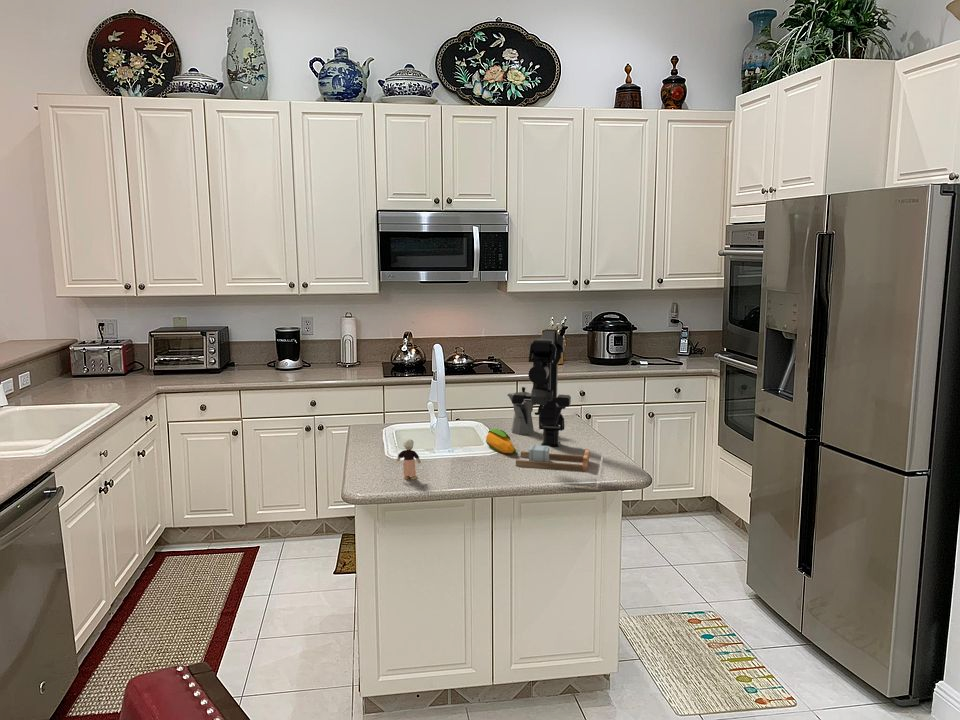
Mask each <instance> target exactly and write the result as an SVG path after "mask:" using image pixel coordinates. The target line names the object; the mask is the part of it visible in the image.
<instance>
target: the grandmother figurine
mask: <svg viewBox="0 0 960 720" xmlns="http://www.w3.org/2000/svg"><path fill="white" fill-rule="evenodd" d="M414 443H415V442H414V440H413V439H412V438H408V439H406V440H404V442H403V445H402V446H403V447H404V449H405V450H402V451H401V452H399V454H397V457H396V462H400V460H401V459H402V458H403V462H402V463H403V465H402V467H403V480H409V479H410V480H414V481H415V480H417V479H418V478H419V477H418V475H417V470H416V462H415V460H416V461H417V464H421V459H420V456H419V454H418V453H417V452H416V451H414V450H413V448H414Z"/></svg>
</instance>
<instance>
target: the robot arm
mask: <svg viewBox="0 0 960 720" xmlns="http://www.w3.org/2000/svg"><path fill="white" fill-rule="evenodd" d="M529 347H530V348H529V354H528V363H532V367H531V368H530V369H529V371H528V379H529V380H530V382H531V383H532V389H531V392H530V393H531V396H526V393H521V392H522V391H517V392H514V393H515V394H514V395H513V396H512V401H511V404H512V405H513V404H516V406H519V407H520V409H521V411H522V413H523V416H524V419H525V422H526V424H528V409H527V402H526V401H531V404H532V405H533V406H536V405H537V406H540V405H543V408H542V409H541V413H539V415H538V429H539V430H543V431H542V433H543V434H542V442H541V444H540V446H549V448H560V445H561V441H560V440H559V438H560V434H559V433H560V432H562V431H564V430H565V427H566V426H565V418H564V416H563V413H562V410H565V409H566V408H568V407H570V405H571V402H572V400H571V399H572V397H571V396H570V394H558V377H559V376H558V374H559V372H558V369H559V365H558V364H559V362H560V361H561V359H562V357H563V354H564V353H565V338H564V337H563V336H562V335H560V334H559V331H558V330H557V329H552V328H551V329H550V328H549V329H548V328H545V329H543V330H542V334H541V336H540V337H539V338H535V339H533V340H532V342H531V343H530V346H529Z"/></svg>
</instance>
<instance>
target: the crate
mask: <svg viewBox="0 0 960 720" xmlns="http://www.w3.org/2000/svg"><path fill="white" fill-rule="evenodd" d="M528 452H529V458H528V461H539V462H550V459H549V453H550V447H549V446H541V445H537V444H531V445H530V447H529V449H528Z"/></svg>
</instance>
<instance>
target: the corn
mask: <svg viewBox="0 0 960 720" xmlns="http://www.w3.org/2000/svg"><path fill="white" fill-rule="evenodd" d="M485 439H486V440H485V443H486V444H487V446H488V447H490V449H492V450H493V451H495V452H497V453H499V452H500V453H503V454H514V455H515V454H517V449H516V448H515V446H514V445H513V443H512V441H511V437H510V436H509V435H508V434H507V432H505V430H502V429H498V428H491V429H489V430H488V434H487V435H486V437H485Z"/></svg>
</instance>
